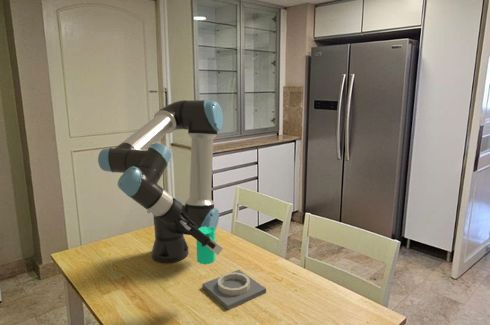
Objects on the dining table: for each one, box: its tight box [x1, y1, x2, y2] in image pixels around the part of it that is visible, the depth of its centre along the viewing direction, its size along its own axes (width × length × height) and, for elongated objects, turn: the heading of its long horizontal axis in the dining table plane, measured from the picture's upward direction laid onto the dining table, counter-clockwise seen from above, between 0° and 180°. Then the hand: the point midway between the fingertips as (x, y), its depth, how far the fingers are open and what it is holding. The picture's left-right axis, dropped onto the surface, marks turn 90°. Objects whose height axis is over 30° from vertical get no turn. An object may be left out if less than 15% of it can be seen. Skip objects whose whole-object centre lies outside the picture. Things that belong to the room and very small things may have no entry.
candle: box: [196, 227, 216, 265], centre depth 114 cm, size 6×6×12 cm
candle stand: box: [201, 269, 267, 310], centre depth 123 cm, size 16×16×4 cm
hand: (216, 247), depth 116 cm, fingers closed on candle, 5 cm apart
